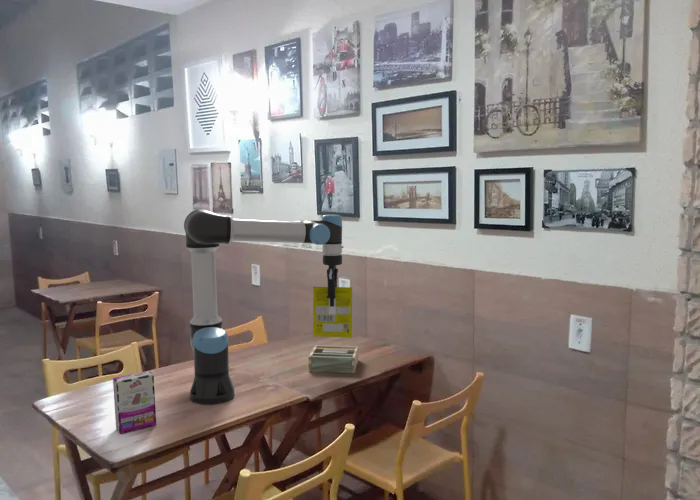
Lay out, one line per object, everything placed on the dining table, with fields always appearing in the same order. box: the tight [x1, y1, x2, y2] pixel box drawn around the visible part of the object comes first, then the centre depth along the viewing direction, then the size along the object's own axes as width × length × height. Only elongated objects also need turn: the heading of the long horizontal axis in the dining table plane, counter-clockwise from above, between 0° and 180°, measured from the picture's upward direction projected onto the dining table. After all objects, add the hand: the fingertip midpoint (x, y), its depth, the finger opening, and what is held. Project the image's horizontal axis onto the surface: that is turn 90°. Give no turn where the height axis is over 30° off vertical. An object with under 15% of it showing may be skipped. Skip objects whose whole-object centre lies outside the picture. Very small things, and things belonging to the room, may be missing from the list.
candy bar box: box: [112, 370, 157, 435], centre depth 180 cm, size 11×5×16 cm, turn 126°
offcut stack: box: [322, 349, 348, 354], centre depth 240 cm, size 5×12×6 cm, turn 84°
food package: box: [312, 286, 353, 338], centre depth 232 cm, size 15×1×20 cm, turn 85°
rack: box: [308, 344, 359, 374], centre depth 240 cm, size 16×18×6 cm
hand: (332, 313), depth 232 cm, fingers closed on food package
